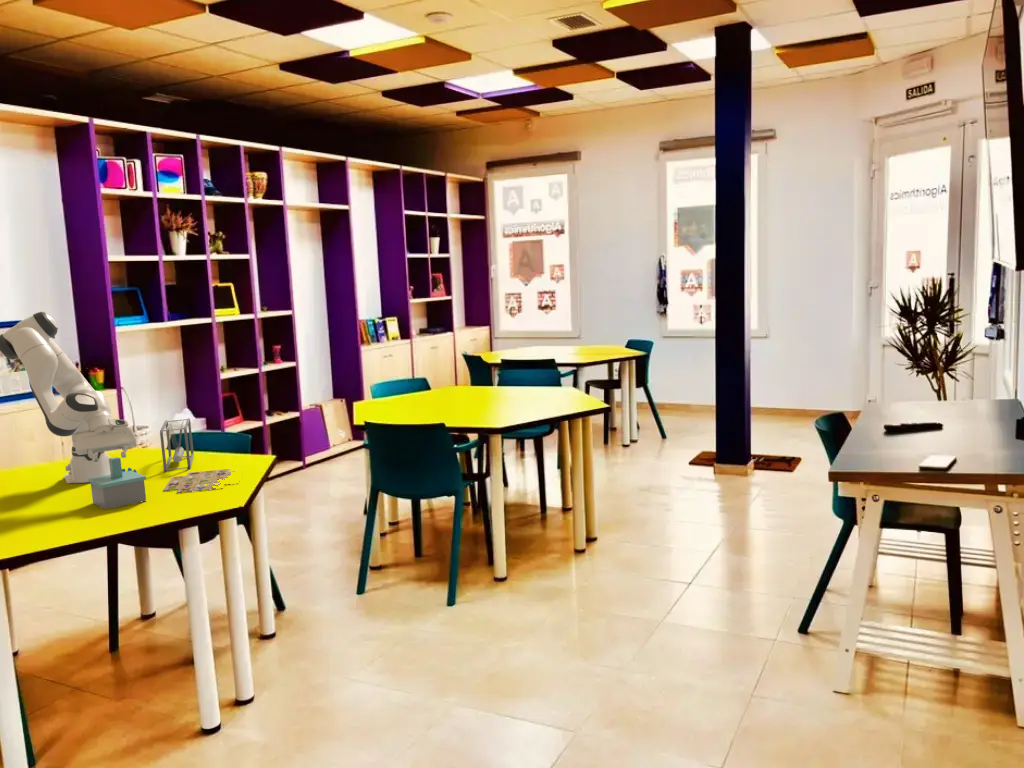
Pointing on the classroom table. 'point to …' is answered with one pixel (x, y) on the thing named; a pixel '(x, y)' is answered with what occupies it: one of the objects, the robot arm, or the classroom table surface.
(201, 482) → the alphabet tiles
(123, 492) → the grey open box
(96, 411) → the robot arm
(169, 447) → the newton's cradle
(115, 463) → the lid
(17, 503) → the classroom table surface
